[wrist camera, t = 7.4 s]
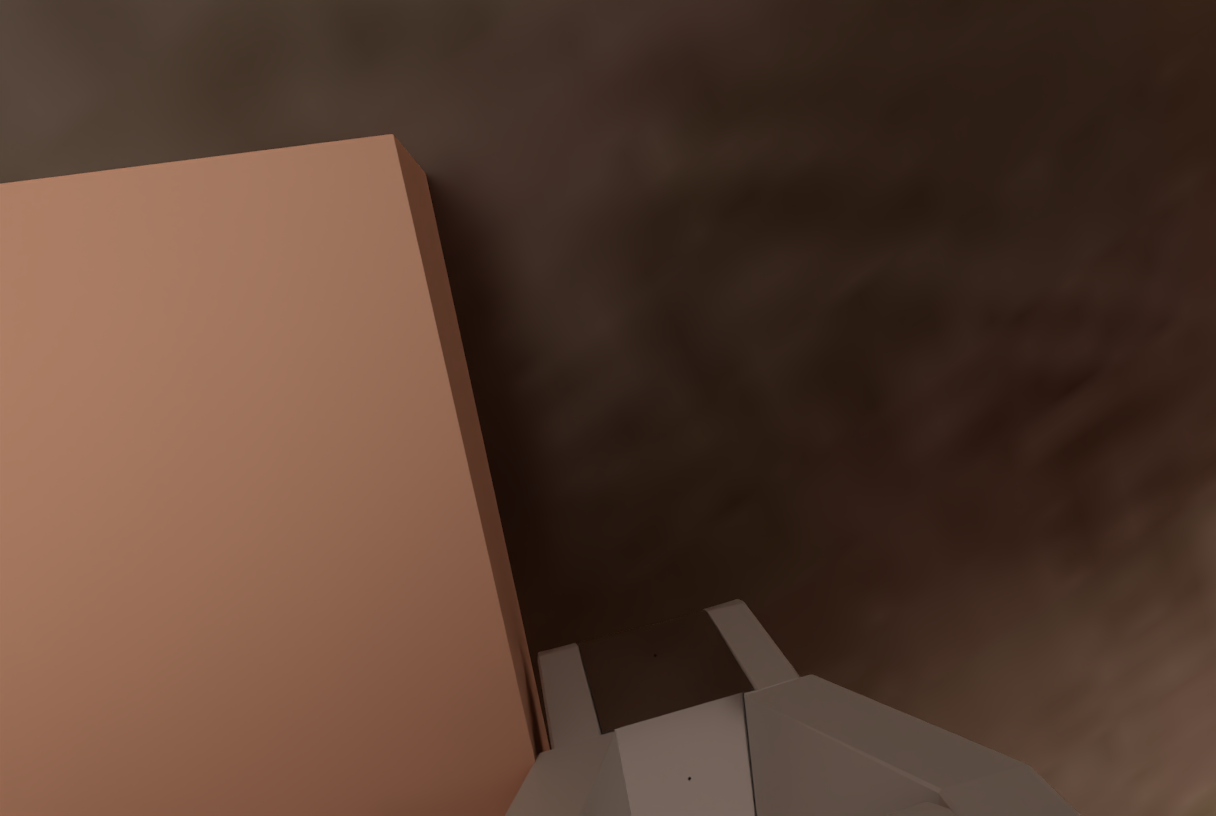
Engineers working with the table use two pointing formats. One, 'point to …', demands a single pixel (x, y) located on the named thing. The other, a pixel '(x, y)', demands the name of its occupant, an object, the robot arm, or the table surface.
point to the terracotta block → (248, 500)
